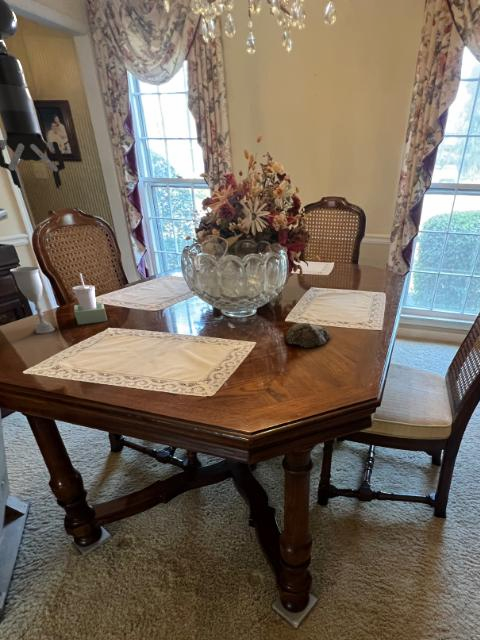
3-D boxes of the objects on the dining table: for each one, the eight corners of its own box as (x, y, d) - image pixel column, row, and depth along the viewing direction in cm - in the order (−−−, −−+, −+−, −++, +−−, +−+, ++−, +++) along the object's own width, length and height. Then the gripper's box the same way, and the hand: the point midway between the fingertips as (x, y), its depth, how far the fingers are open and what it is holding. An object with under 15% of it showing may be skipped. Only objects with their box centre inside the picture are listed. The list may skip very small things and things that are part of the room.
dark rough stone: (293, 331, 117) (293, 315, 114) (332, 335, 113) (332, 319, 111) (278, 345, 106) (278, 328, 104) (321, 350, 103) (321, 333, 100)
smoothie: (83, 321, 121) (71, 276, 114) (77, 316, 125) (65, 272, 118) (104, 317, 124) (93, 273, 118) (98, 312, 129) (87, 270, 122)
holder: (78, 324, 120) (74, 312, 118) (77, 317, 127) (74, 305, 125) (107, 321, 124) (104, 308, 122) (105, 314, 130) (102, 302, 128)
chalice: (63, 329, 116) (43, 268, 107) (39, 336, 111) (17, 272, 102) (50, 325, 119) (31, 265, 111) (27, 331, 114) (5, 269, 106)
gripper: (-22, 105, 85) (5, 188, 93) (51, 111, 91) (70, 188, 99) (-16, 110, 91) (9, 187, 99) (52, 115, 97) (70, 188, 105)
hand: (39, 188), depth 99 cm, fingers open, 8 cm apart
